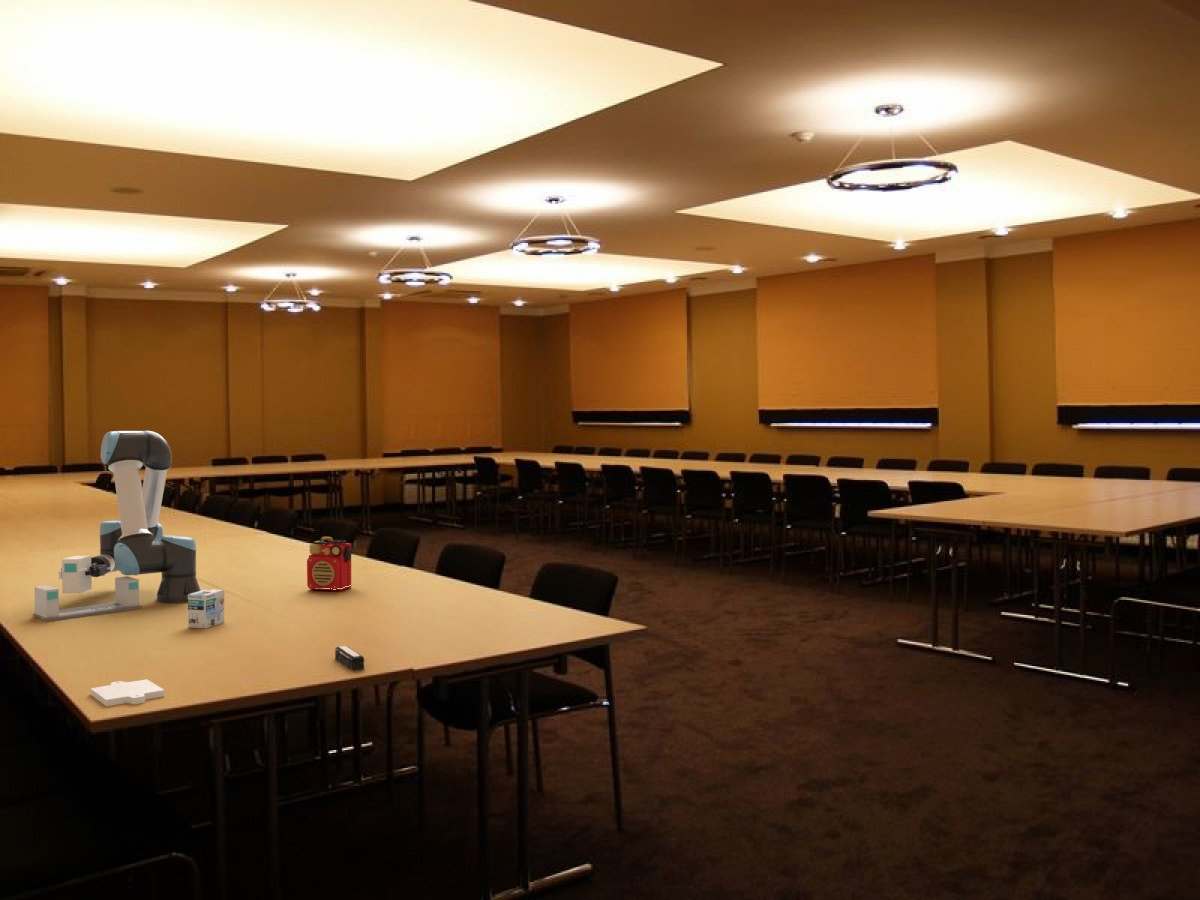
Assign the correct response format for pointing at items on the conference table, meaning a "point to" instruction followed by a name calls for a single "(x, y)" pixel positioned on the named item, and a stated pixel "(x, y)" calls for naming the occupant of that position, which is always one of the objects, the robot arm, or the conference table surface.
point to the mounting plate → (126, 692)
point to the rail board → (88, 611)
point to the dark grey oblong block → (349, 658)
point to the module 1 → (46, 601)
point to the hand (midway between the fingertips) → (69, 574)
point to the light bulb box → (205, 608)
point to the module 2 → (127, 591)
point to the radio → (329, 564)
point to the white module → (75, 574)
